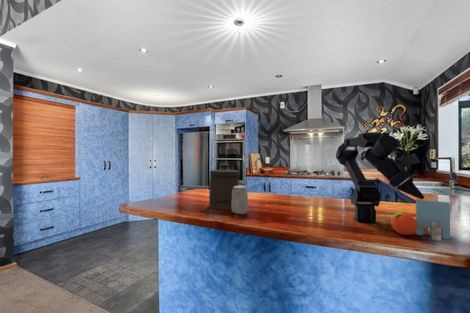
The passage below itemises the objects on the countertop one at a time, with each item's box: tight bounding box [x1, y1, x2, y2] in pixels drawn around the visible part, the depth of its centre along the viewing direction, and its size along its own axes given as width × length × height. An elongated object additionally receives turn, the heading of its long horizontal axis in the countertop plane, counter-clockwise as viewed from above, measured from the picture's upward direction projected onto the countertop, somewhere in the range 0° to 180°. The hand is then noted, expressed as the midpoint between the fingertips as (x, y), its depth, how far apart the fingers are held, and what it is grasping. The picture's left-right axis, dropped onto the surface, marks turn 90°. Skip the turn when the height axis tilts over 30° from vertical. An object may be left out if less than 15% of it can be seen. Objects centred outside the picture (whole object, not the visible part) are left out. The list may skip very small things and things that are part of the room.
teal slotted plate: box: [415, 198, 451, 240], centre depth 73 cm, size 8×2×11 cm, turn 55°
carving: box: [231, 185, 249, 215], centre depth 100 cm, size 6×8×12 cm
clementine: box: [390, 212, 418, 236], centre depth 74 cm, size 8×7×7 cm
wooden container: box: [208, 162, 240, 210], centre depth 115 cm, size 15×15×22 cm
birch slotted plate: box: [427, 221, 442, 242], centre depth 72 cm, size 2×10×5 cm, turn 145°
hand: (421, 196), depth 74 cm, fingers open, 9 cm apart
